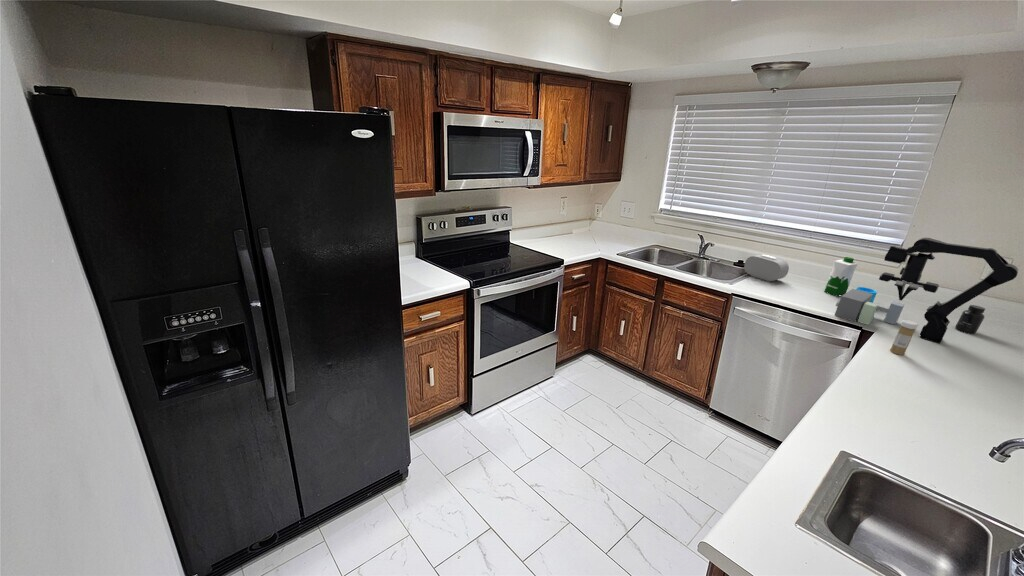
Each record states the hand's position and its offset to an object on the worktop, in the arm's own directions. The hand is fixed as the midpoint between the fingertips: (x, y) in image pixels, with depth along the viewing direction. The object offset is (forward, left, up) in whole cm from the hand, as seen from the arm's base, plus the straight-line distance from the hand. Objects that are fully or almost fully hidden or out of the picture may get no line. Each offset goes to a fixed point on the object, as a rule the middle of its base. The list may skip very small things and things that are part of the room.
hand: (900, 300), depth 182 cm
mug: (+16, -24, -13) cm, 32 cm away
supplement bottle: (-22, -26, -13) cm, 37 cm away
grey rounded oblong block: (+63, -21, -13) cm, 68 cm away
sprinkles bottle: (-8, +30, -13) cm, 34 cm away
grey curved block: (+15, -1, -13) cm, 20 cm away
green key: (+13, +5, -13) cm, 19 cm away
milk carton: (+29, -29, -13) cm, 43 cm away
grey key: (+7, -7, -13) cm, 16 cm away
